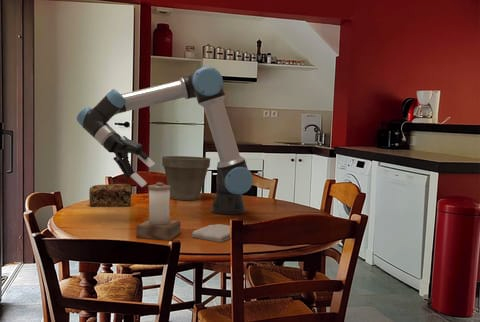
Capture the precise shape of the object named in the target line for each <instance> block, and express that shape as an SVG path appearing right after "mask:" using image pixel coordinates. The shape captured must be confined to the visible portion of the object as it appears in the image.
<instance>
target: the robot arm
mask: <svg viewBox="0 0 480 322" xmlns="http://www.w3.org/2000/svg"><path fill="white" fill-rule="evenodd" d="M223 85H224V80H223V75H222V74H221V72H220V71H219V70H218V69H216V68H215V67H212V66H202V67H200V68H197V70H196V71H195V72H193V73H191V74H189V75H186V76H182V77H180V79H179V80H176V81H170V82H167V83H163V84H159V85H154V86H150V87H146V88H142V89H141V88H140V89H138V90H133V91H129V92H125V93H120V92H119V91H118V90H116V89H115V88H114V89H111V90H110V91H109V92H108V93H106V95H105V96H104V97H102V99H101V100H100V101H99V102H98V103H97V104H96V105H95V106H94V107H93V108H92V107H89V106H87V107H85V108H83V109H81V110H80V111H79V112H78V114H77V116H76V121H77V122H78V124H79V125H80V126H81V127H82V129H84V130H85V131H86V132H87V133H88V134H89V135H90V136H91V137H93V139H94V140H96V142H98V143H99V144H100V145H101V146H102V147H103V148H104V149H105V150H106V151H107V152H108V153H113V154H114V155H115V156H114V157H112V158H113V160H114V162H115V163H116V164H117V166H118V167H119V168H120V170H121V172H122V173H123V175H124V177H125V178H126V179H130V178H131V179H132V180H133V181H134V182H136V184H137V185H139V187H141V188H143V187H145V186H146V185H147V184H148V183H147V181H146V180H144V178H142V177H141V176H140V174H138V172H136V171H134V168H133V167H132V165H131V163H130V159H129V154H133V155H135V156H137V158H138V159H139V160H140V161H141V162H143V164H144V165H146V167H148V168H149V169H151V168H152V167H154V166H155V164H156V163H155V162H154V161H153V160H152V159H151V158H150V157H149V156H148V154H146V153H145V152H144V150H143V147H144V146H143V145H142V144H141V143H138V142H136V141H134V140H132V139H129V138H128V137H126V136H125V135H124V136H123V135H122V136H121V135H120V133H119V132H116V130H115V129H114V128H113V127H111V126H110V125H109V124H108V122H109V121H110V120H111V119H112V118H113V117H114V116H116V115H118V114H123V113H126V112H130V111H134V110H137V109H142V108H146V107H150V106H153V105H158V104H163V103H166V102H167V103H168V102H171V101H174V100H175V101H176V100H180V99H182V98H183V99H185V100H189V99H194V98H195V99H196V101H197V104H198V105H199V106H201V107H203V110H204V114H205V116H206V119H207V123H208V127H209V129H210V132H211V136H212V139H213V142H214V145H215V150H216V152H217V154H218V158H219V161H218V162H217V164H216V194H215V198H214V199H213V203H212V206H211V212H213V213H214V214H218V215H230V216H231V215H241V214H242V215H243V214H245V213H246V205H245V201H244V198H243V194H246V193H247V192H248V191H249V190H250V189H251V188H252V186H253V184H254V183H253V181H254V178H253V177H254V176H253V174H252V172H251V171H250V169H248V166H247V161H246V159H245V157H243V156H241V155H240V152H239V149H238V145H237V141H236V139H235V134H234V132H233V129H232V125H231V122H230V119H229V116H228V112H227V110H226V105H225V103H224V99H225V97H226V94H225V90H224V86H223Z"/></svg>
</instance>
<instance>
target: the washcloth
mask: <svg viewBox="0 0 480 322" xmlns="http://www.w3.org/2000/svg"><path fill="white" fill-rule="evenodd" d="M191 236H192V238H194V239H199V240H204V241H205V240H206V241H210V242H216V243H222V242H225V241H228V240H230V225H227V224H220V223H216V224H209V225H207V226H205V227H201V228H198V229H195V230H194V231H193V232H192V234H191Z"/></svg>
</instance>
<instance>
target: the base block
mask: <svg viewBox="0 0 480 322" xmlns="http://www.w3.org/2000/svg"><path fill="white" fill-rule="evenodd" d="M180 233H181V221H179V220H169V224H165V225H152V224H149V218H148V219H146V220H145V221H143V222H141V223H140V224H137V225H136V239H137V238H138V239H148V240H162V241H163V240H164V241H172V240H173V239H174V238H175V237H177V236H178V235H179V234H180Z"/></svg>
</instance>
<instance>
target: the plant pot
mask: <svg viewBox="0 0 480 322" xmlns="http://www.w3.org/2000/svg"><path fill="white" fill-rule="evenodd" d="M161 159H162V160H161V163H162V167H163V169H164V174H165V178H166V182H167V183H166V184H167V185H170V199H172V200H178V201H196V200H199V199H200V196H201V192H202V191H203V190H202V189H203V186H204V183H205V180H206V176H207V173H208V170H209V168H210V166H211V158H210V157H203V156H187V155H185V156H184V155H170V156H169V155H168V156H167V155H166V156H162V157H161Z"/></svg>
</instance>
